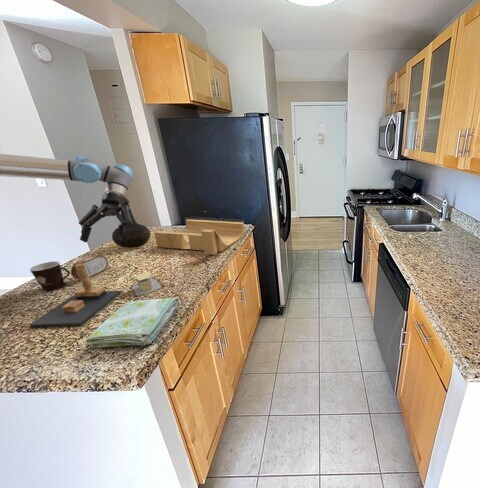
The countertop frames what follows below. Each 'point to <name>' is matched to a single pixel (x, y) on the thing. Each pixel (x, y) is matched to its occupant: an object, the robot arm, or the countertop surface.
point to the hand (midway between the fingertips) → (100, 240)
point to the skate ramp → (202, 236)
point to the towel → (134, 323)
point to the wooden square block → (73, 306)
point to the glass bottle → (132, 233)
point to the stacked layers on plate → (145, 283)
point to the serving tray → (74, 318)
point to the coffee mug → (49, 275)
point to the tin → (91, 265)
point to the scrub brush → (87, 286)
